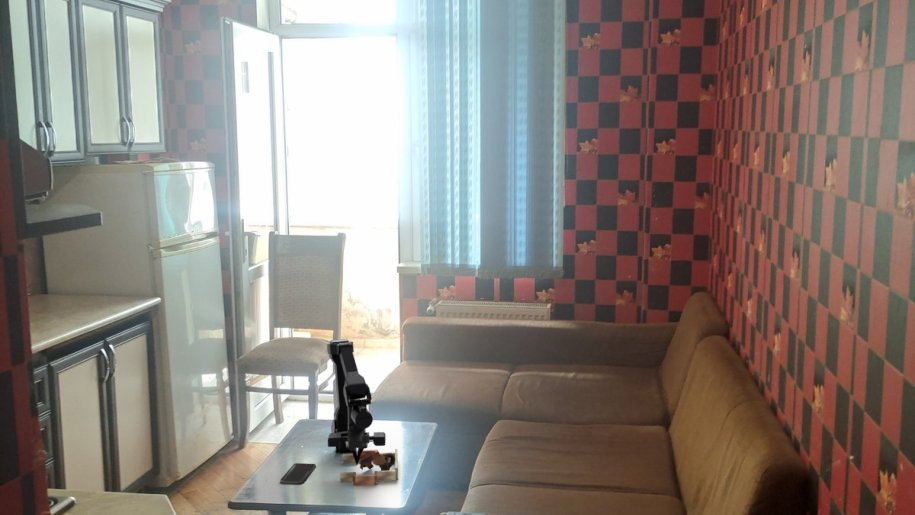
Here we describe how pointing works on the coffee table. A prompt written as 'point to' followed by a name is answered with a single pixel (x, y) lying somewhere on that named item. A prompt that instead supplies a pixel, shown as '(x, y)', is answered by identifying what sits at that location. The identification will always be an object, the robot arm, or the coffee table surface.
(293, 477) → the phone
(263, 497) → the coffee table surface
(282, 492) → the coffee table surface
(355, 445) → the robot arm
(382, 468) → the pottery mug
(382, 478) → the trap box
